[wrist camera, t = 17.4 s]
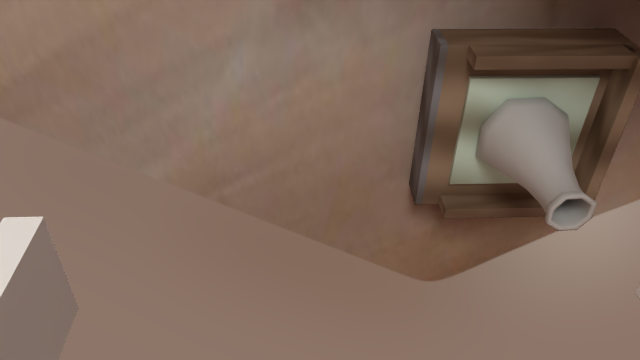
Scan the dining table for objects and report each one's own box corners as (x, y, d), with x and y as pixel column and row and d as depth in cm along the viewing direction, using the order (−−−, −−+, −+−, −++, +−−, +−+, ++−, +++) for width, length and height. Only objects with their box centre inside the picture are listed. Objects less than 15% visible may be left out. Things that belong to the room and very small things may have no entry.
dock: (431, 29, 42) (449, 59, 38) (615, 29, 43) (653, 58, 38) (409, 183, 51) (420, 222, 47) (561, 181, 52) (586, 219, 47)
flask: (535, 177, 47) (587, 260, 39) (460, 159, 45) (497, 243, 38) (582, 105, 43) (651, 182, 35) (501, 84, 41) (553, 159, 33)
